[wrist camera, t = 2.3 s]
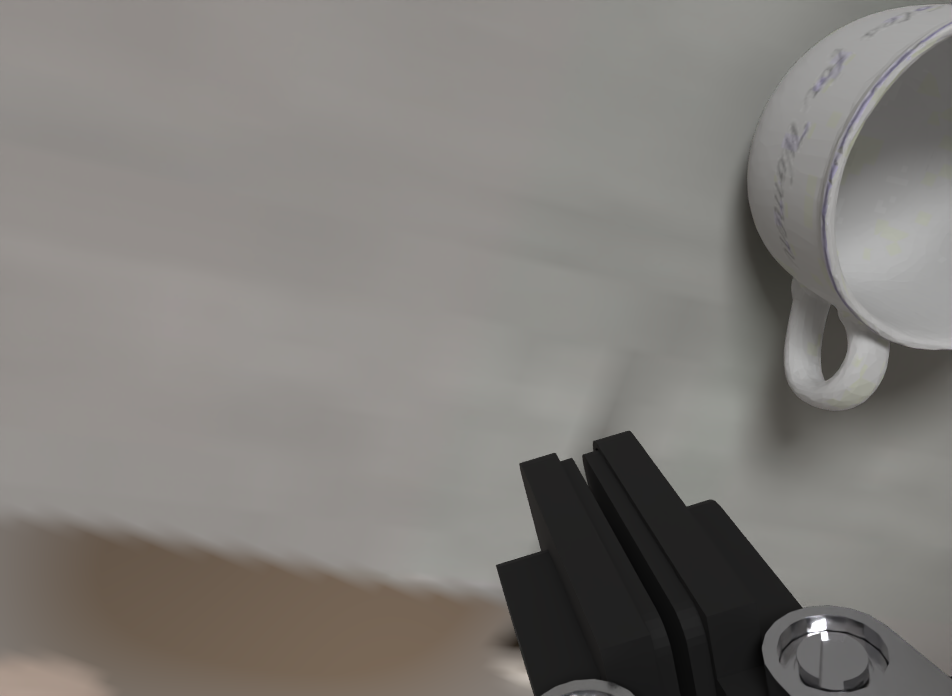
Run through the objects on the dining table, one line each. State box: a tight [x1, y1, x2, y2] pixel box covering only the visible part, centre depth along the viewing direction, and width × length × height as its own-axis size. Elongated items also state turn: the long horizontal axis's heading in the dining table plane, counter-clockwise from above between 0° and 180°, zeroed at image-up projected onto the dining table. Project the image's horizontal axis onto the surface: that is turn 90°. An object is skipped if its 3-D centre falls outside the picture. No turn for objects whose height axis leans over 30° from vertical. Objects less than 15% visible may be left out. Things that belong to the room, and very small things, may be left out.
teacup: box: [747, 4, 952, 411], centre depth 30 cm, size 14×11×8 cm
